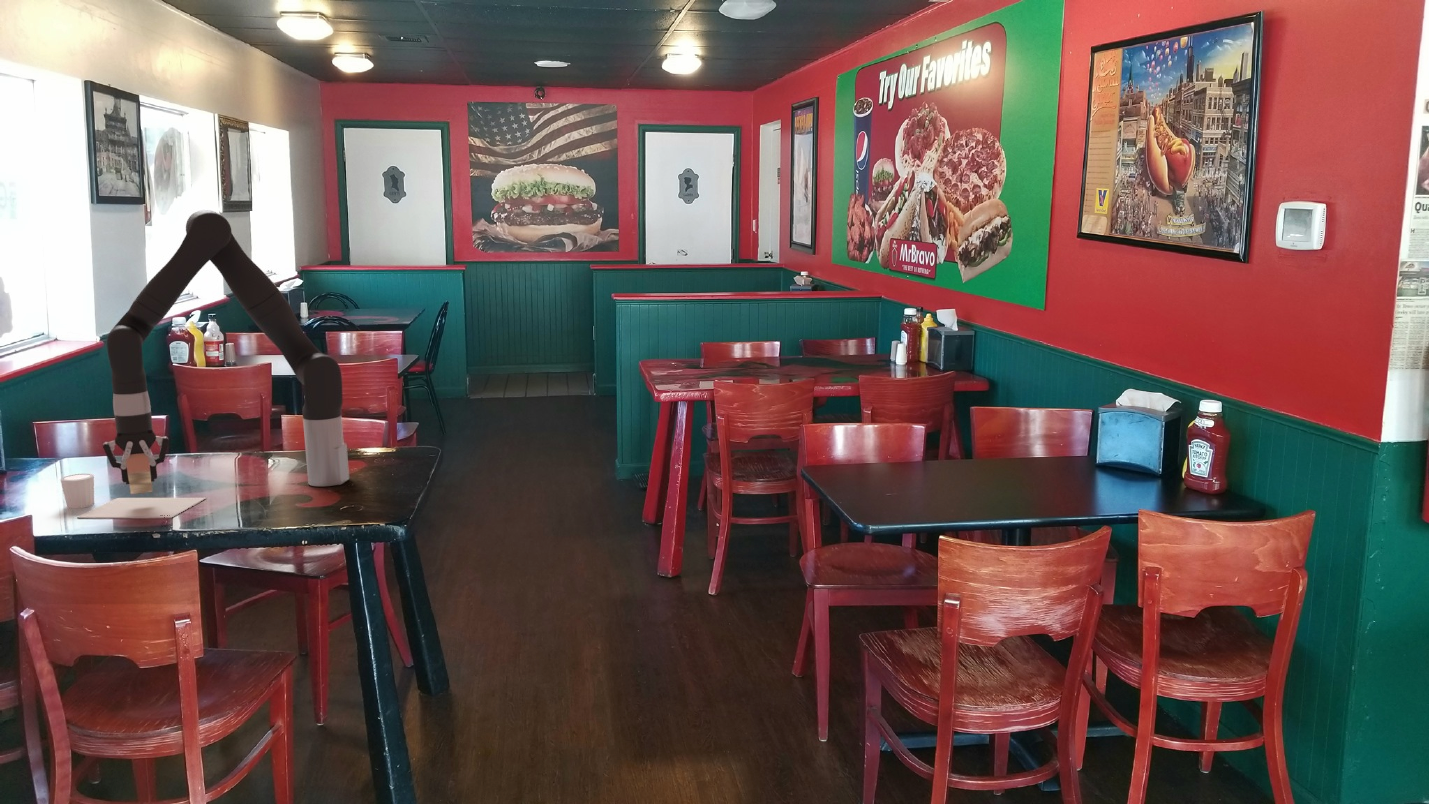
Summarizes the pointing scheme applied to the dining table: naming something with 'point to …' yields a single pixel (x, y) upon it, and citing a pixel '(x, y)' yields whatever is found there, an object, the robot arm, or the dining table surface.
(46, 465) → the dining table surface
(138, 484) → the birch block
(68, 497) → the beige tapered cup
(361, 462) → the dining table surface
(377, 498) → the dining table surface
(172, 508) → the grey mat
